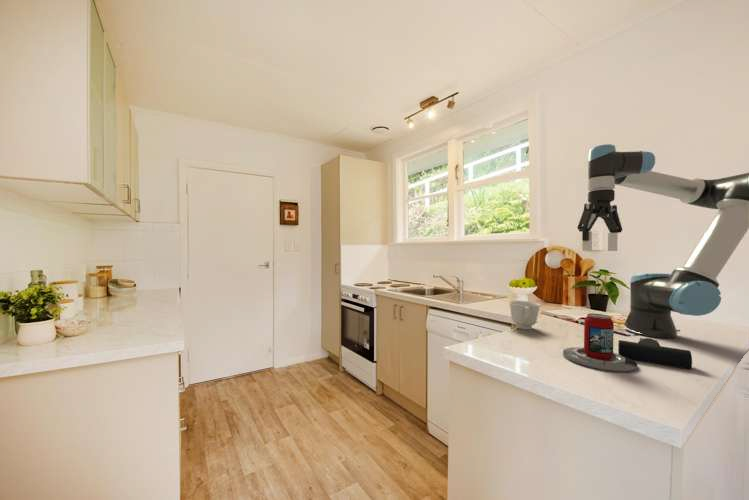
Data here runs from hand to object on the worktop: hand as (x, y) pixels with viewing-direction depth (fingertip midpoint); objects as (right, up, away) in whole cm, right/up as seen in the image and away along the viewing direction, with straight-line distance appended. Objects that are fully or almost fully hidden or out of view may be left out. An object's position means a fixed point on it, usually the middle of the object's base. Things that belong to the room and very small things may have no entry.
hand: (600, 250), depth 106 cm
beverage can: (-15, -31, -20) cm, 39 cm away
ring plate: (-15, -32, -20) cm, 40 cm away
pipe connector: (+2, -32, -17) cm, 37 cm away
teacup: (-19, -32, +15) cm, 40 cm away
